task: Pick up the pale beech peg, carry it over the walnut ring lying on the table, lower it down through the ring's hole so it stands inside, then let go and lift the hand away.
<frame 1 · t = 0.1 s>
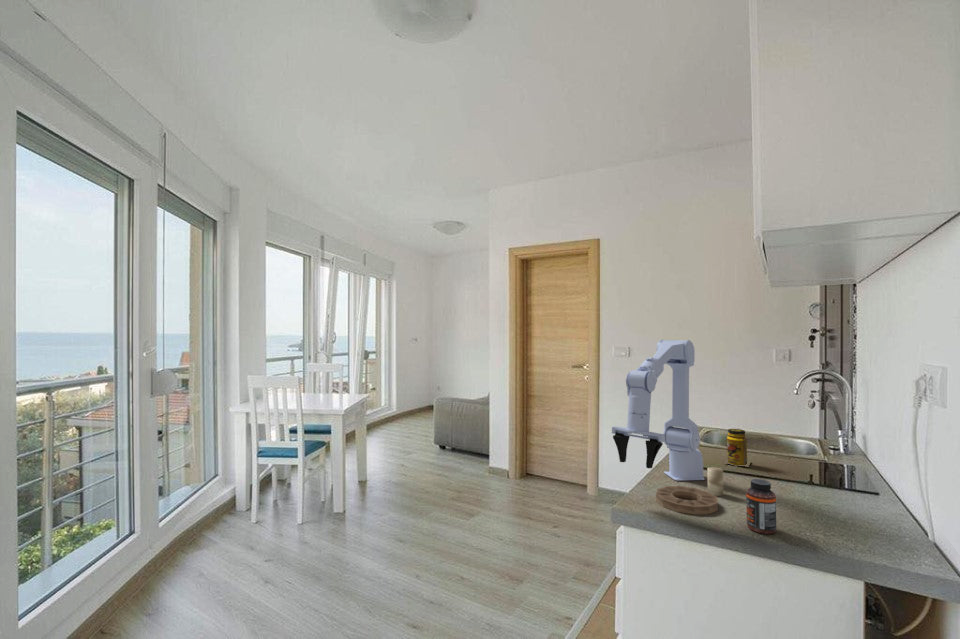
hand: (635, 464, 122), 11 cm above the worktop, tool pointing down, fingers open, 7 cm apart
condiment: (738, 464, 158), on the worktop
beech peg: (715, 493, 129), on the worktop
walnut ring: (686, 503, 122), on the worktop
supplement bottle: (761, 530, 106), on the worktop
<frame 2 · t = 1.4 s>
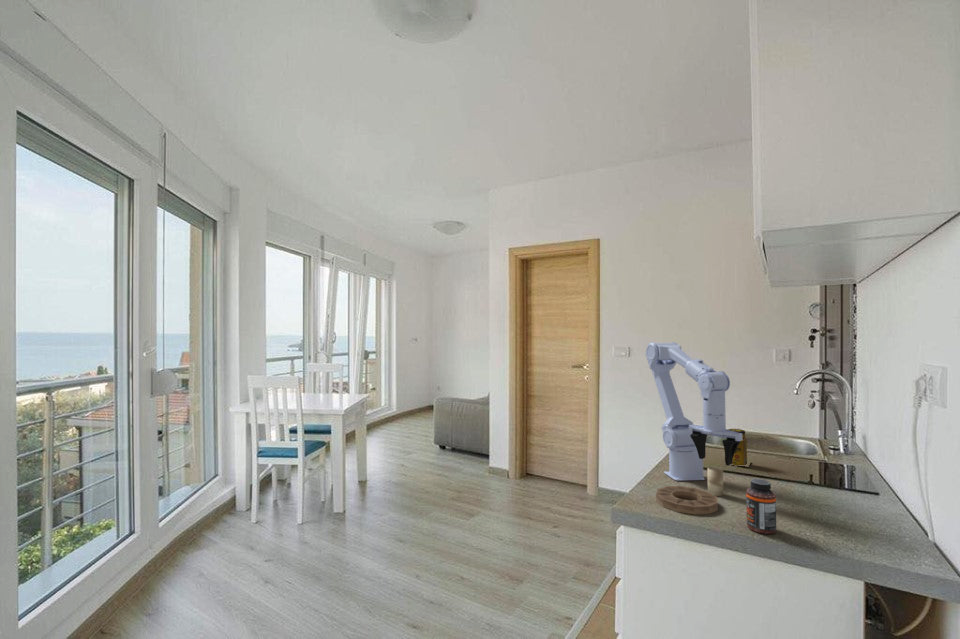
hand: (715, 461, 129), 9 cm above the worktop, tool pointing down, fingers open, 7 cm apart
nothing on the worktop moved.
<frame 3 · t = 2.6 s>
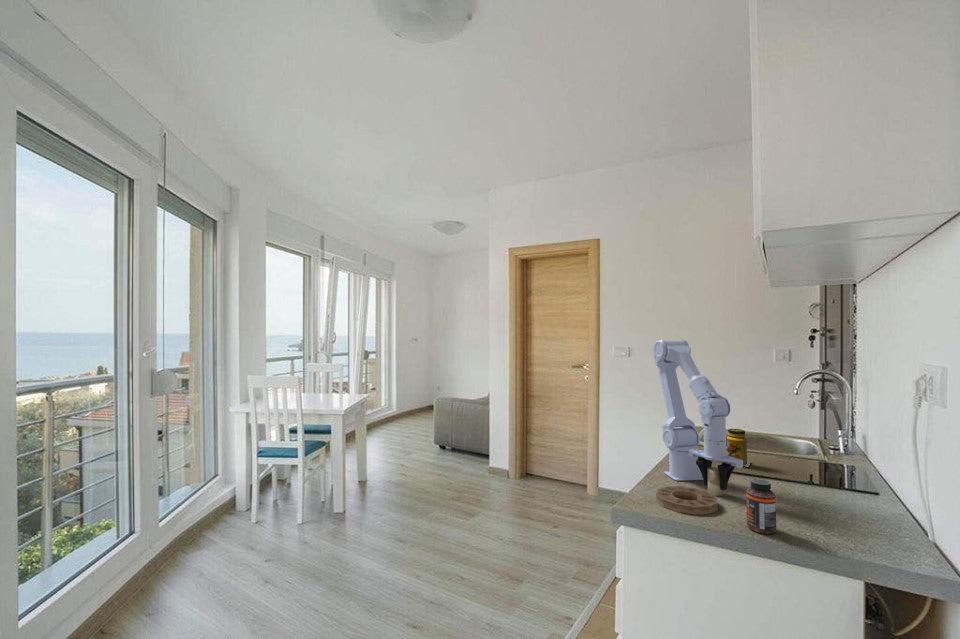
hand: (715, 487, 129), 2 cm above the worktop, tool pointing down, fingers closed on beech peg, 4 cm apart
beech peg: (715, 493, 129), on the worktop, touching gripper
everything else where it was.
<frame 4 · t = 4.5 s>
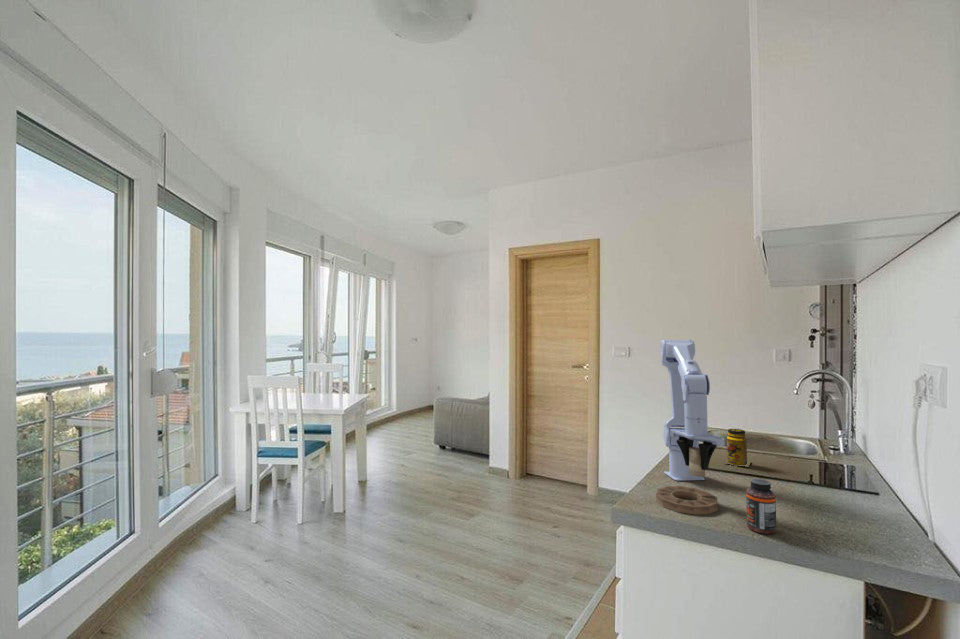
hand: (696, 467, 125), 9 cm above the worktop, tool pointing down, fingers closed on beech peg, 4 cm apart
beech peg: (697, 474, 125), point 7 cm above the worktop, touching gripper
everything else where it was.
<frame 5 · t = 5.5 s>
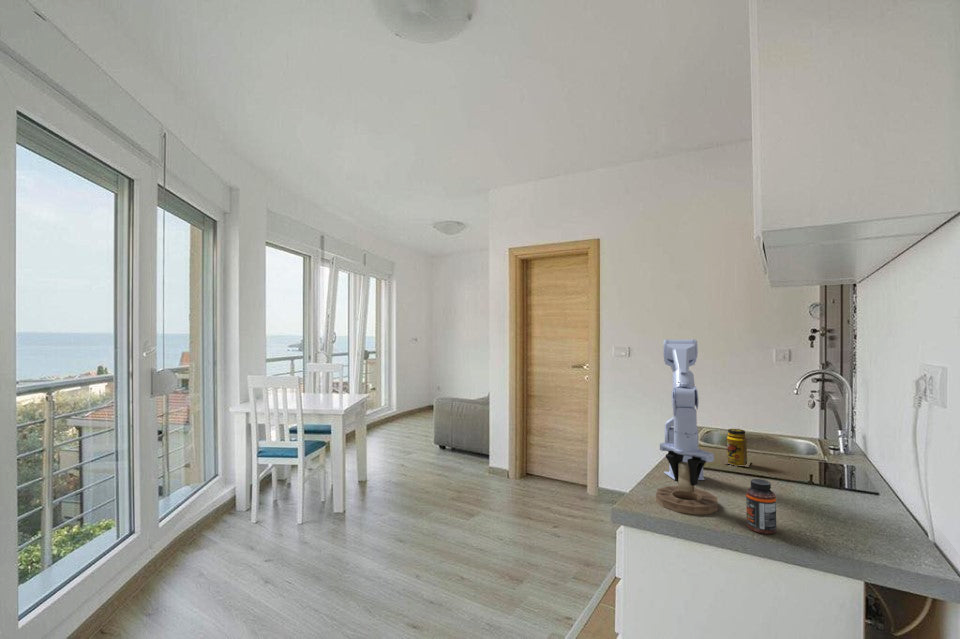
hand: (686, 482, 122), 6 cm above the worktop, tool pointing down, fingers closed on beech peg, 4 cm apart
beech peg: (686, 489, 122), point 4 cm above the worktop, touching gripper
everything else where it was.
when the fingers open (3 cm above the worktop, at t = 6.4 s): beech peg stays where it is, resting in walnut ring.
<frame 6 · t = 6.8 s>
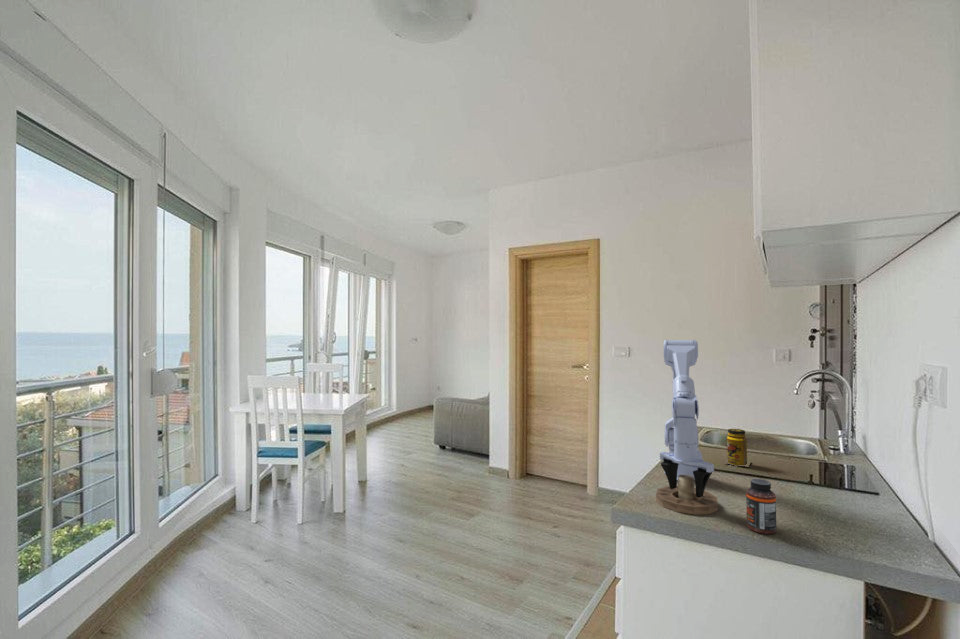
hand: (686, 492, 122), 3 cm above the worktop, tool pointing down, fingers open, 7 cm apart
beech peg: (686, 503, 122), resting in walnut ring
everything else where it was.
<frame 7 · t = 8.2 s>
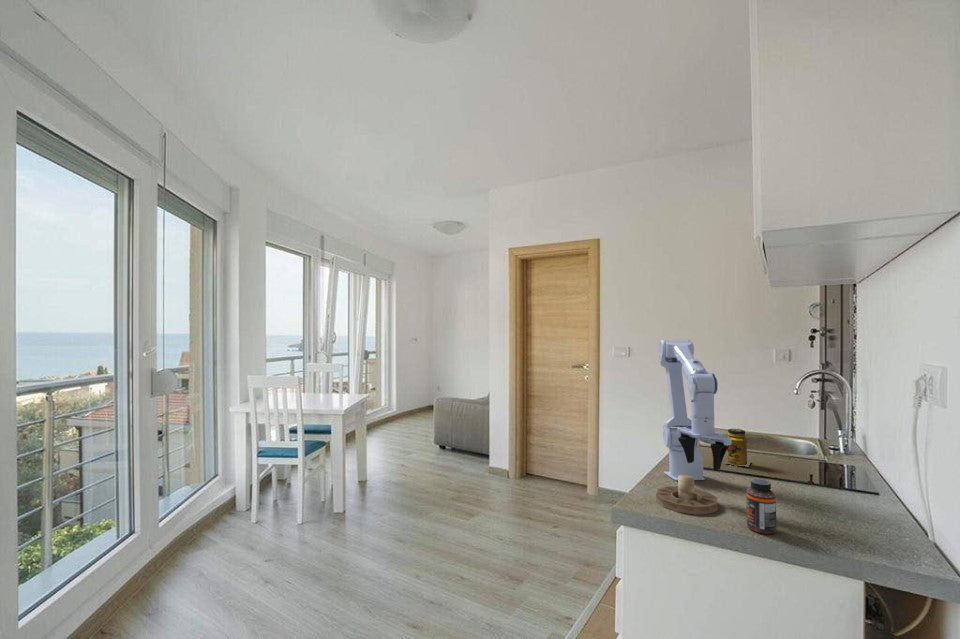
hand: (703, 465, 125), 9 cm above the worktop, tool pointing down, fingers open, 7 cm apart
nothing on the worktop moved.
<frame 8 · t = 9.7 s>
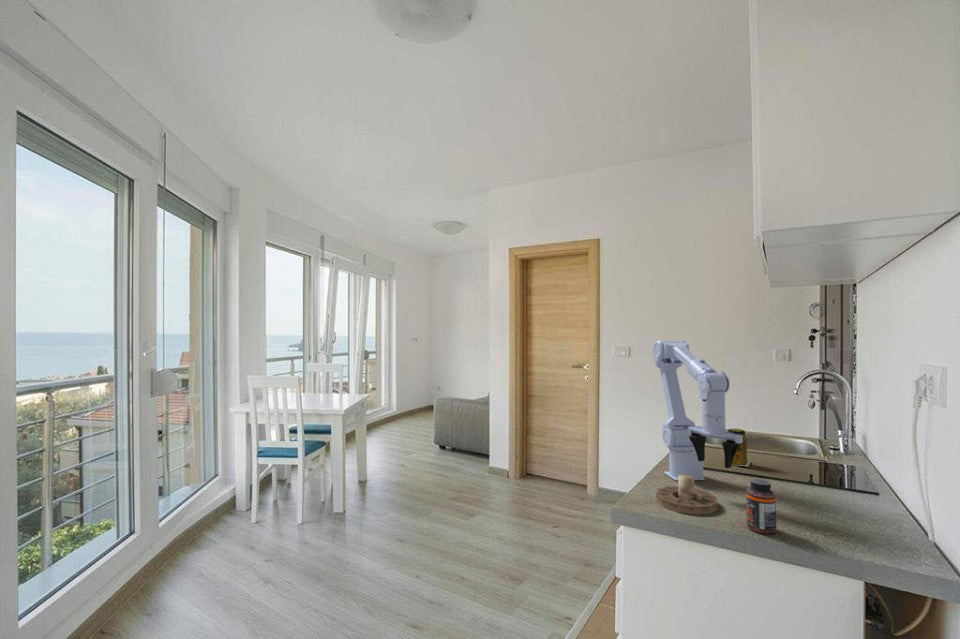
hand: (714, 464, 126), 9 cm above the worktop, tool pointing down, fingers open, 7 cm apart
nothing on the worktop moved.
at the end: beech peg 0.1 cm off-centre on the walnut ring, point 0.0 cm above the walnut ring's base; beech peg tilted 0°; the gripper is holding nothing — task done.
